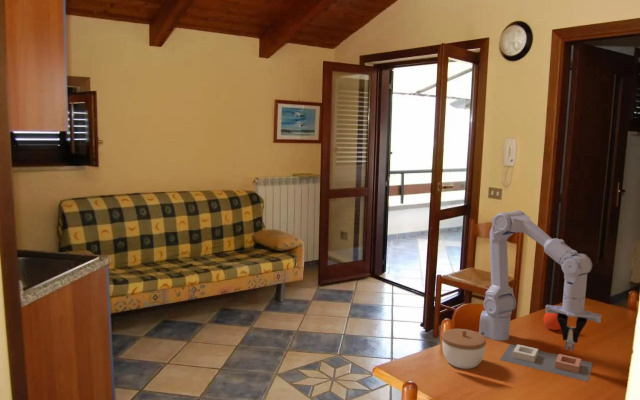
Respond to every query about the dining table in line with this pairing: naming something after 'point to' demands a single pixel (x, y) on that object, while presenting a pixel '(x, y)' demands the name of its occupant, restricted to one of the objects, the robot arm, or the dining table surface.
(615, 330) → the dining table surface
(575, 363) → the socket
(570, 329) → the lock pin
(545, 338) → the dining table surface
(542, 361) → the board
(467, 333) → the lidded bowl
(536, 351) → the pin mount
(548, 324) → the clementine
